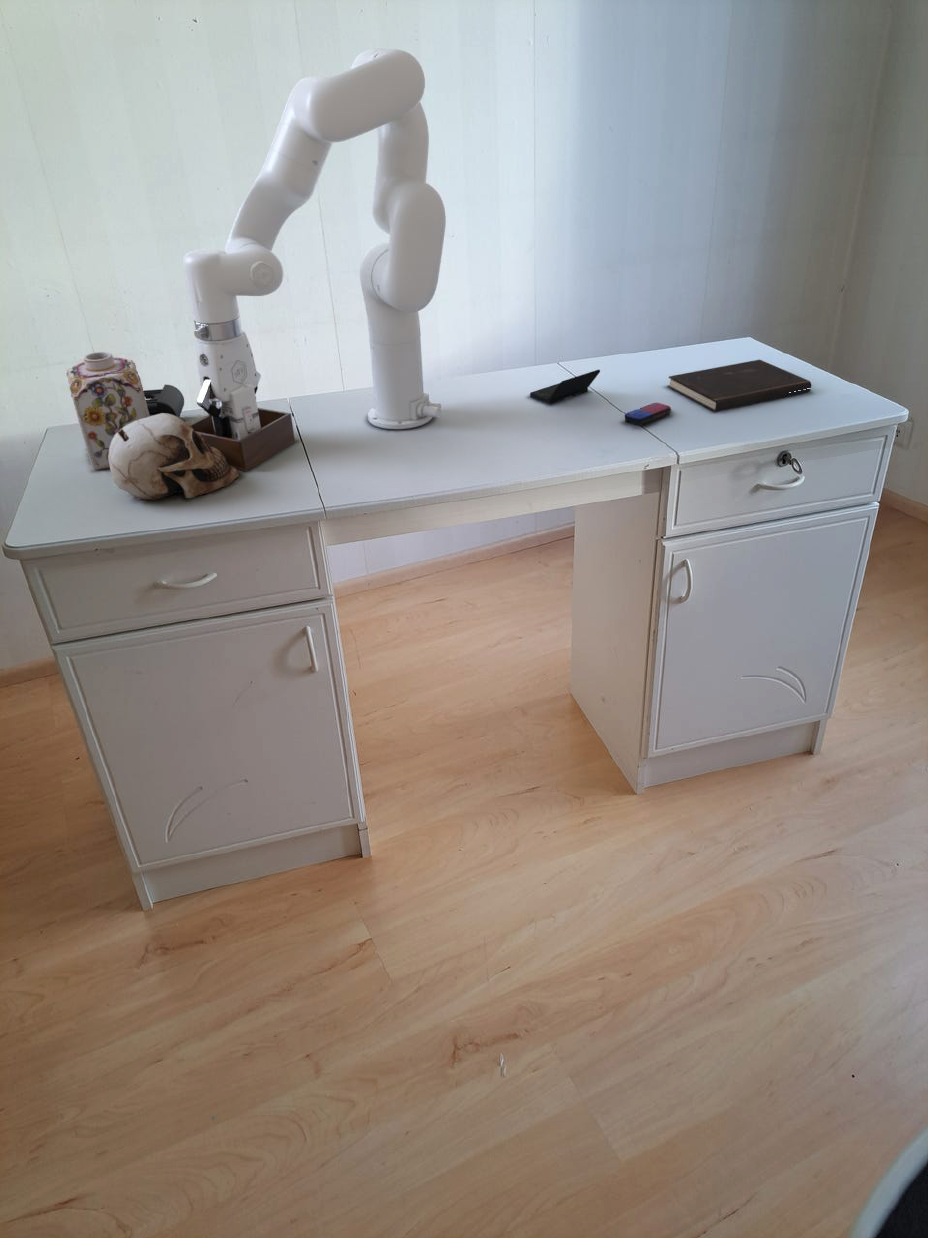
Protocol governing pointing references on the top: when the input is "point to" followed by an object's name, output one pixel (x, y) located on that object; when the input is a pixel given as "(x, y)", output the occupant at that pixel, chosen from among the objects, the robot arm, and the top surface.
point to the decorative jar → (105, 401)
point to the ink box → (242, 412)
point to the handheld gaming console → (565, 388)
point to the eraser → (647, 414)
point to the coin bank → (166, 459)
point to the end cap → (164, 401)
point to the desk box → (250, 439)
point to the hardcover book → (738, 385)
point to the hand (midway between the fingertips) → (237, 429)
